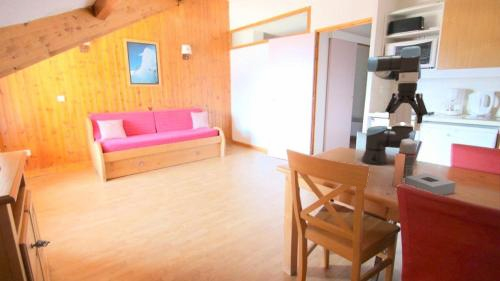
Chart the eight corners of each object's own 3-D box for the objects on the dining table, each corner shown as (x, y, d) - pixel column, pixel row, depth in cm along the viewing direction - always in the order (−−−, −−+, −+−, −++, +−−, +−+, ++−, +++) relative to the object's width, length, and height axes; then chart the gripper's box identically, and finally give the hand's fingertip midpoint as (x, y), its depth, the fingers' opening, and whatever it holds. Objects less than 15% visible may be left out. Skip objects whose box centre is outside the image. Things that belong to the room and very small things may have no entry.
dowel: (391, 184, 128) (393, 153, 125) (397, 183, 130) (400, 153, 126) (397, 187, 125) (400, 155, 122) (404, 186, 126) (407, 154, 123)
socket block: (404, 186, 126) (405, 176, 125) (425, 182, 130) (426, 173, 129) (431, 197, 113) (433, 186, 112) (454, 192, 117) (455, 182, 116)
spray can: (413, 174, 143) (417, 138, 139) (413, 178, 136) (417, 141, 132) (396, 171, 147) (399, 137, 143) (395, 176, 140) (398, 140, 136)
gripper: (379, 83, 128) (376, 125, 132) (428, 81, 104) (422, 133, 109) (391, 83, 130) (388, 124, 134) (441, 81, 107) (435, 131, 111)
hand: (403, 128), depth 121 cm, fingers open, 13 cm apart
